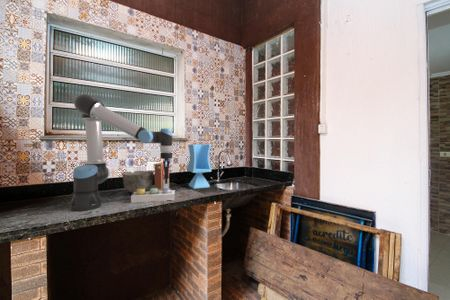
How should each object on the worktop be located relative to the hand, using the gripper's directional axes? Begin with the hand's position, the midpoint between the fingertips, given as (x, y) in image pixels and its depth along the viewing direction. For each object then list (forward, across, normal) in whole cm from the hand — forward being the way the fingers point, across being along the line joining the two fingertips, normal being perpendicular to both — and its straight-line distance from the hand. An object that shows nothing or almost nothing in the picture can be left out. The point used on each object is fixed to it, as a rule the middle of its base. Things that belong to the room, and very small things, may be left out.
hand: (166, 188), depth 147 cm
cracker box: (+7, +21, +4) cm, 22 cm away
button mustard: (+3, 0, +16) cm, 16 cm away
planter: (+7, +35, -25) cm, 44 cm away
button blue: (+4, 0, 0) cm, 4 cm away
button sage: (+3, 0, +8) cm, 8 cm away
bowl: (+7, +23, +21) cm, 32 cm away
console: (+7, 0, +8) cm, 10 cm away
